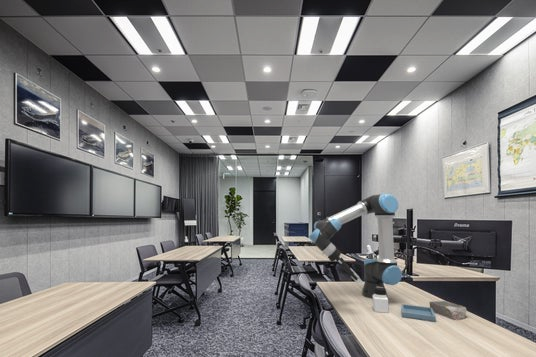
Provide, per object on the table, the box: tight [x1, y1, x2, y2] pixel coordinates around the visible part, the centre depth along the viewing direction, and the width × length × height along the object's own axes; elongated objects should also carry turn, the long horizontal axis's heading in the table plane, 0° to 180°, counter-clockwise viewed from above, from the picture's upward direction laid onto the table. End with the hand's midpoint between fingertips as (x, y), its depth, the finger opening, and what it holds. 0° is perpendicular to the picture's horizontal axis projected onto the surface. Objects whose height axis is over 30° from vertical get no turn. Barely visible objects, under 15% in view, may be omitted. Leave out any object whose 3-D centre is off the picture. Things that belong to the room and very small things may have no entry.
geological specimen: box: [429, 300, 468, 321], centre depth 151 cm, size 11×6×15 cm
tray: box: [400, 303, 437, 323], centre depth 149 cm, size 15×15×2 cm
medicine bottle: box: [372, 287, 390, 314], centre depth 156 cm, size 7×7×12 cm
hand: (359, 281), depth 159 cm, fingers open, 13 cm apart
